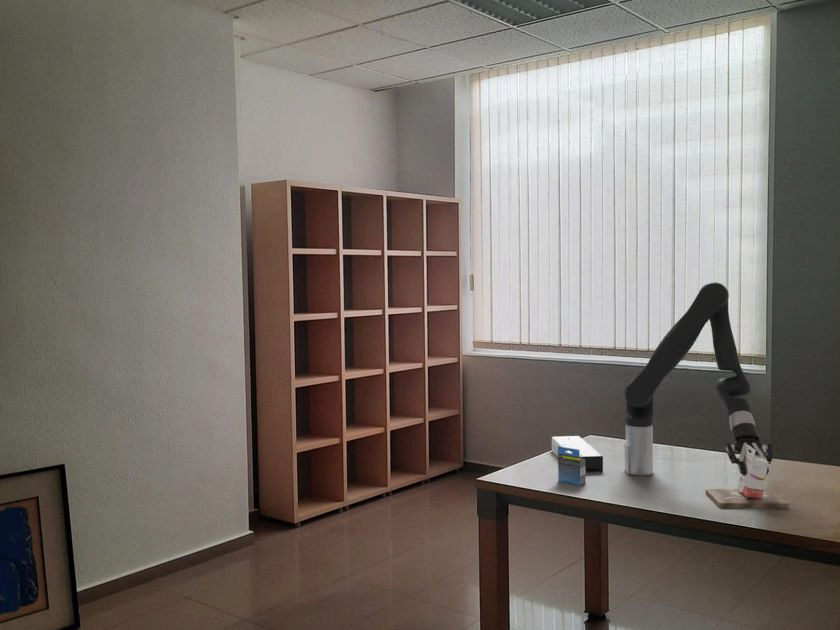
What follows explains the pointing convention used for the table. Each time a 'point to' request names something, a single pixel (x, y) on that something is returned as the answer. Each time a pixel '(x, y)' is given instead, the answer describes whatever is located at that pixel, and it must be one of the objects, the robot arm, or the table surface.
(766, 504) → the walnut board
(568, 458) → the label tape cartridge
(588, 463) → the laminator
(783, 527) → the table surface
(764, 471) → the ink cartridge box
